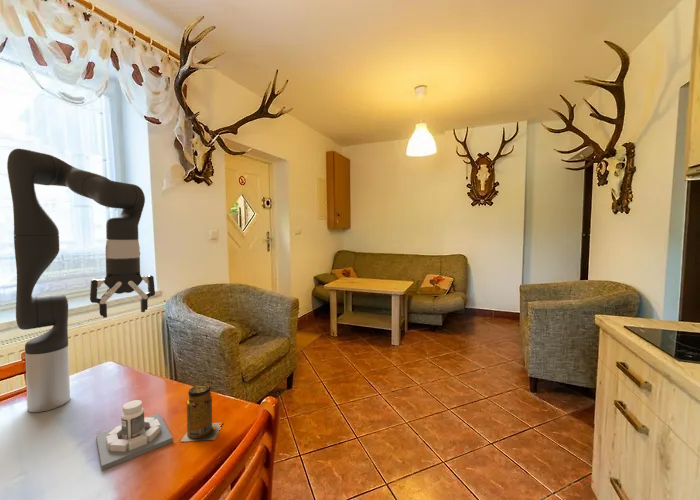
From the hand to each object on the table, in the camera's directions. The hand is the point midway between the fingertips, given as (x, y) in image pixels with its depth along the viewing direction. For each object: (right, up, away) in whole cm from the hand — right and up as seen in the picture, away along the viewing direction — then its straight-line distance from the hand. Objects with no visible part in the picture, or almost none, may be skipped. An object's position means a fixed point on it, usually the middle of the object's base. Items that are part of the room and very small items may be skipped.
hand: (124, 314), depth 85 cm
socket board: (+8, -31, -7) cm, 32 cm away
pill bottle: (+7, -30, -7) cm, 31 cm away
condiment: (+23, -31, -3) cm, 39 cm away
